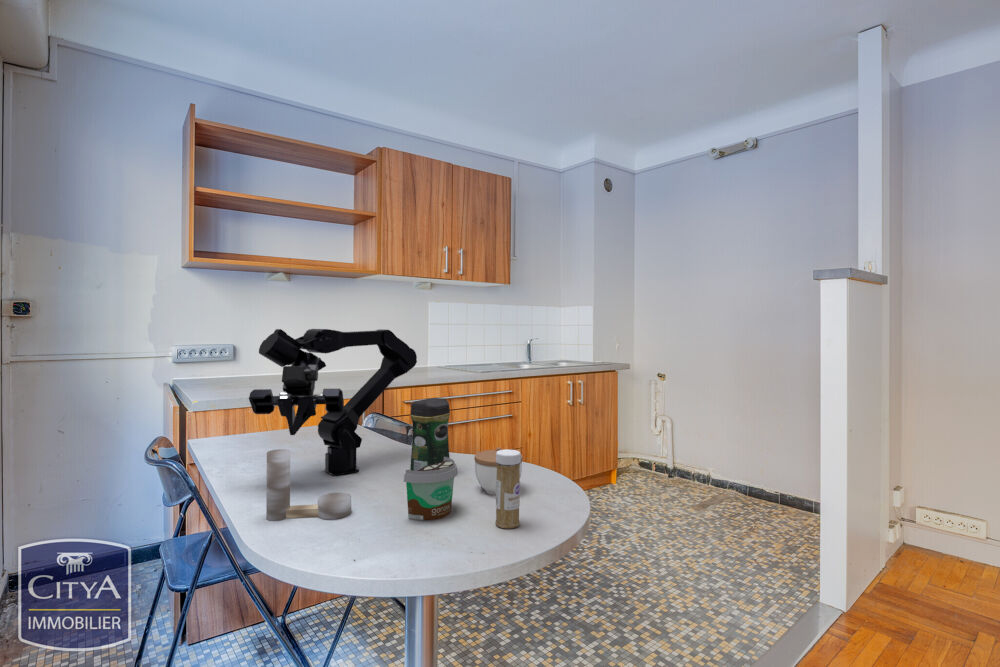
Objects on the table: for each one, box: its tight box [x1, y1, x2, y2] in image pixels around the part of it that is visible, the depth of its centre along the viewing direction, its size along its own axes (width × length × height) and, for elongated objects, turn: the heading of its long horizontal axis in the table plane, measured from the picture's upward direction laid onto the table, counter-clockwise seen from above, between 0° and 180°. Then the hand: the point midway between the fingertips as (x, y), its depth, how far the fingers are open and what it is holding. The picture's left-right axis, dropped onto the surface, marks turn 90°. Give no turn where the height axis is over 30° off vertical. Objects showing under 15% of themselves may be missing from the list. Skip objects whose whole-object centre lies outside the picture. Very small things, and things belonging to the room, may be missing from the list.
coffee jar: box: [409, 397, 451, 471], centre depth 124 cm, size 10×8×19 cm
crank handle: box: [265, 448, 352, 522], centre depth 95 cm, size 15×6×12 cm, turn 101°
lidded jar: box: [473, 447, 524, 495], centre depth 113 cm, size 11×11×9 cm
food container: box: [403, 457, 459, 522], centre depth 96 cm, size 12×6×10 cm, turn 148°
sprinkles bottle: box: [494, 449, 522, 530], centre depth 94 cm, size 5×5×14 cm
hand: (292, 434), depth 105 cm, fingers closed
